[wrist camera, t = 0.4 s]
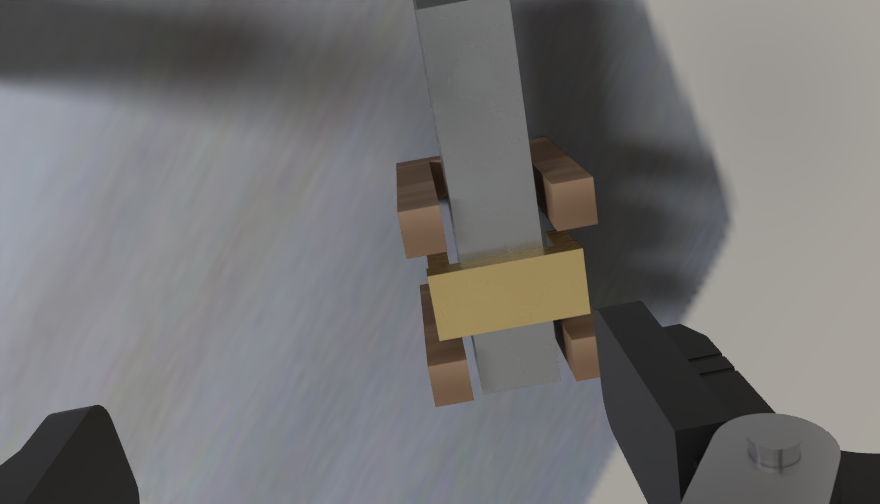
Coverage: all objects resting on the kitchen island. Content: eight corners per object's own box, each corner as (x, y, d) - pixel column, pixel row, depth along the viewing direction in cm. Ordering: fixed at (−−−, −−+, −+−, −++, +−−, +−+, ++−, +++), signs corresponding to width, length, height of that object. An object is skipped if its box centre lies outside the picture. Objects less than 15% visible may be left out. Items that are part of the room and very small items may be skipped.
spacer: (424, 254, 34) (427, 276, 31) (567, 228, 34) (582, 248, 31) (435, 314, 35) (439, 341, 32) (574, 288, 35) (590, 313, 32)
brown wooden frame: (396, 163, 40) (397, 212, 30) (545, 136, 40) (593, 176, 30) (426, 318, 43) (435, 407, 33) (565, 292, 43) (614, 374, 33)
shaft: (412, -6, 32) (414, -7, 29) (494, -20, 32) (506, -24, 29) (475, 359, 38) (483, 394, 34) (545, 346, 38) (560, 380, 34)
